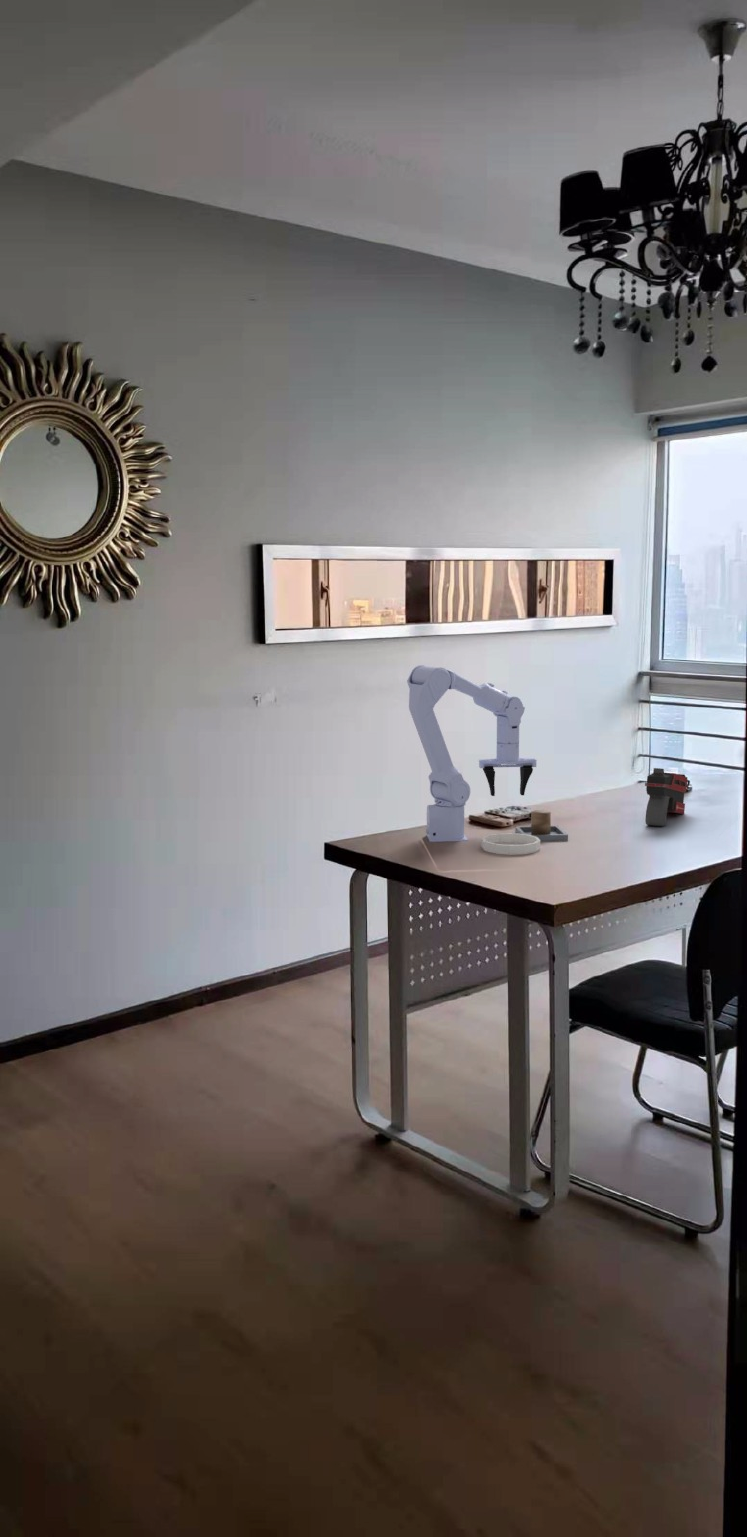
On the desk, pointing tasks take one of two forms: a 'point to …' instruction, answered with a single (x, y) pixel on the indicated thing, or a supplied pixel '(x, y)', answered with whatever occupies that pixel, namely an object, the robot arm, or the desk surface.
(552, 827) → the tray
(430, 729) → the robot arm
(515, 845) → the bowl
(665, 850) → the desk surface
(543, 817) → the cylinder
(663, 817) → the toy gun
